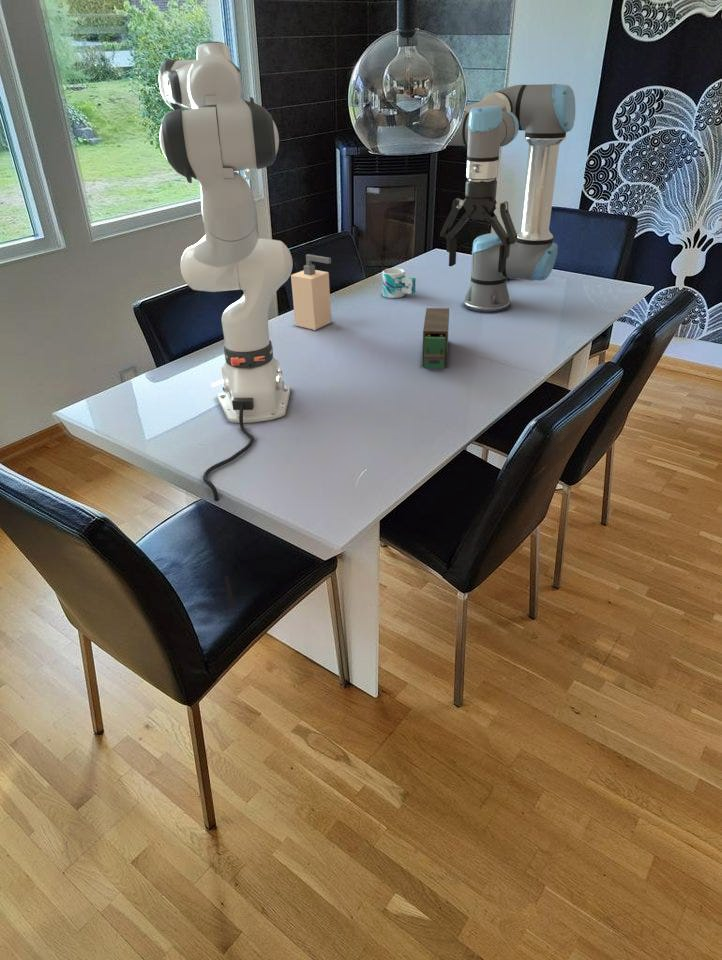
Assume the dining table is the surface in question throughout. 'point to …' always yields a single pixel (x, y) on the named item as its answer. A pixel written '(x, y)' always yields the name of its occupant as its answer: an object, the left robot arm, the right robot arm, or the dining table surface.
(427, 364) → the drawer
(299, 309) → the soap dispenser
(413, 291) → the mug
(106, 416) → the dining table surface
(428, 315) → the cabinet
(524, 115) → the right robot arm
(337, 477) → the dining table surface
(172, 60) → the left robot arm
